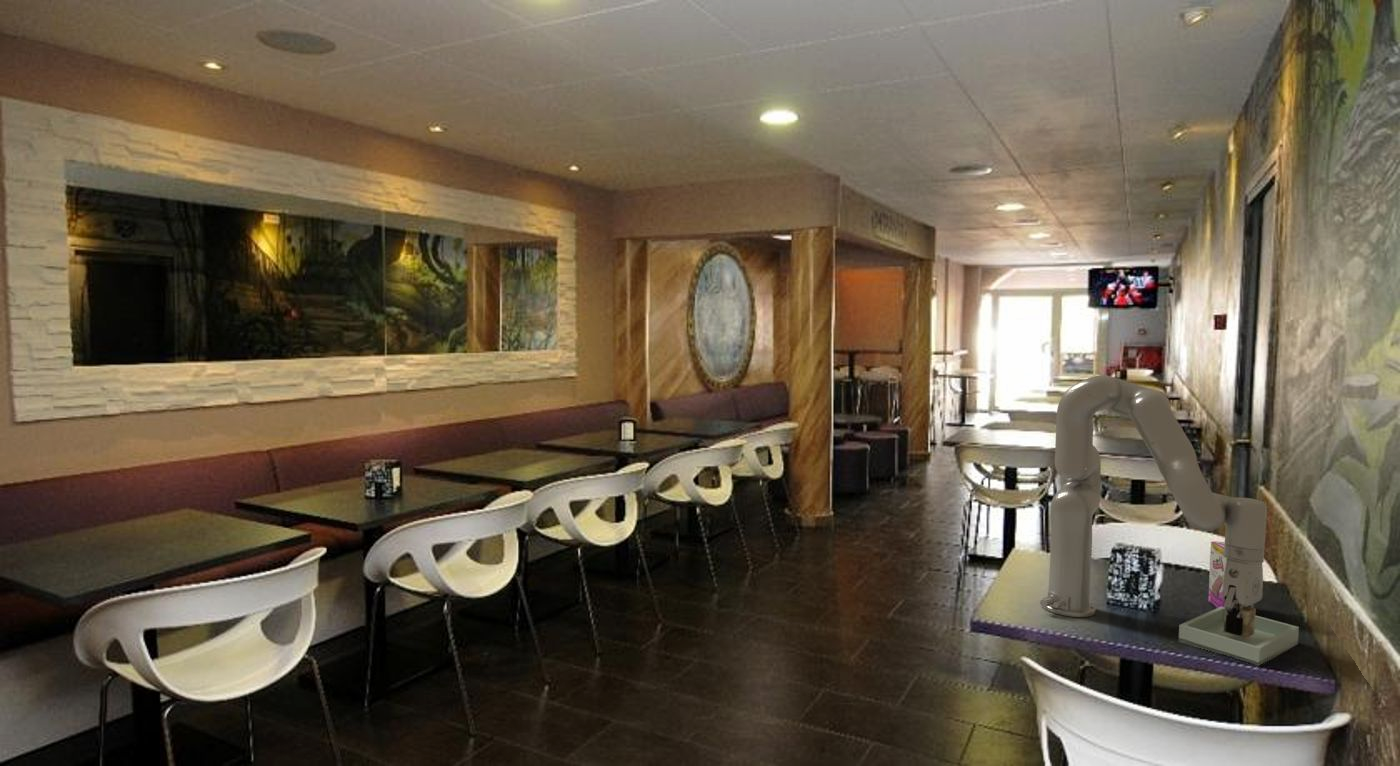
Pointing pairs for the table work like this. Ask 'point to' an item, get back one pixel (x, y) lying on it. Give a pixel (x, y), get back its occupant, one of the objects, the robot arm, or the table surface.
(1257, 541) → the robot arm
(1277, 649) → the tray
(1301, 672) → the table surface
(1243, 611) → the maple block
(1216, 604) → the candy bar box
